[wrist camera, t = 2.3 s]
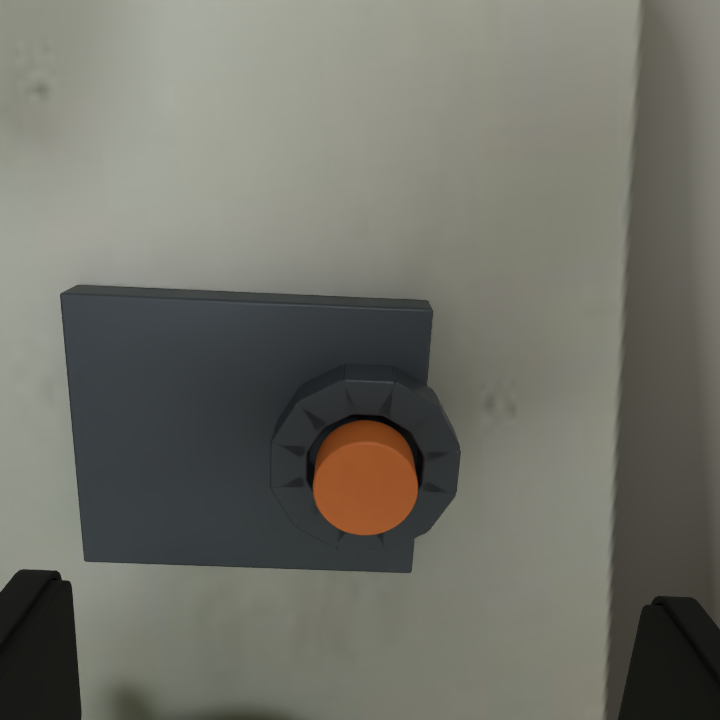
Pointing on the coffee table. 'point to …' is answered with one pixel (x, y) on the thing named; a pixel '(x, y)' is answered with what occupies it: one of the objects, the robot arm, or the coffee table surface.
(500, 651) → the coffee table surface
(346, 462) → the button
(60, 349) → the coffee table surface
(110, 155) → the coffee table surface
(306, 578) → the coffee table surface
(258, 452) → the button base
